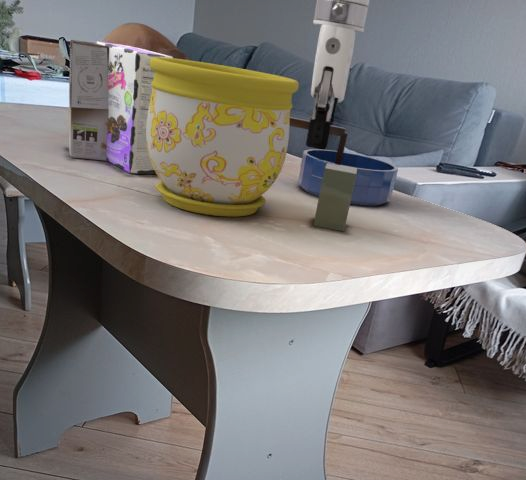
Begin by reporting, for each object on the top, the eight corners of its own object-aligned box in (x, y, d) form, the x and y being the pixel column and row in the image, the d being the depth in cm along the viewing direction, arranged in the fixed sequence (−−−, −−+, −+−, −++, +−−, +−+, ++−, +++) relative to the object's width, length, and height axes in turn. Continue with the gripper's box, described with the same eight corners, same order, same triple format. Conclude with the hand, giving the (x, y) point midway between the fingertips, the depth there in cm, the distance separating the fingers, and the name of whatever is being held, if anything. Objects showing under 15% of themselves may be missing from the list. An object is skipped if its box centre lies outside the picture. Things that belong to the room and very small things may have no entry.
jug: (90, 151, 100) (232, 182, 121) (126, 26, 91) (273, 82, 112) (47, 103, 112) (183, 139, 132) (76, -11, 103) (217, 46, 123)
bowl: (388, 193, 107) (395, 161, 105) (390, 212, 93) (399, 176, 91) (302, 177, 108) (308, 145, 106) (292, 194, 94) (299, 157, 92)
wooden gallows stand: (349, 183, 102) (361, 130, 98) (348, 189, 98) (361, 133, 94) (264, 166, 103) (273, 112, 99) (259, 170, 99) (268, 114, 95)
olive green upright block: (345, 223, 83) (357, 168, 80) (344, 231, 79) (356, 173, 76) (316, 218, 83) (326, 162, 80) (313, 225, 79) (324, 167, 76)
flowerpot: (282, 201, 89) (302, 79, 82) (270, 233, 73) (294, 84, 66) (160, 179, 90) (170, 56, 82) (122, 206, 74) (130, 56, 66)
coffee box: (112, 162, 95) (118, 48, 88) (69, 158, 93) (71, 40, 86) (107, 150, 103) (111, 44, 96) (67, 146, 101) (68, 38, 94)
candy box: (91, 153, 99) (95, 39, 92) (125, 154, 102) (131, 45, 95) (128, 174, 89) (135, 49, 82) (165, 174, 93) (174, 55, 86)
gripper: (364, 18, 83) (337, 158, 91) (365, 24, 97) (341, 145, 105) (310, 9, 83) (287, 149, 91) (318, 16, 97) (298, 137, 105)
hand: (316, 146), depth 98 cm, fingers closed on wooden gallows stand, 1 cm apart
